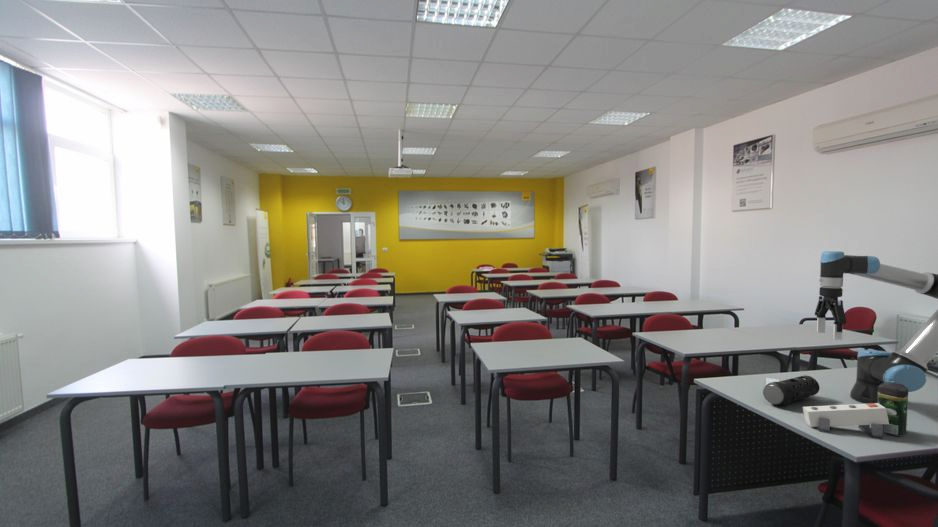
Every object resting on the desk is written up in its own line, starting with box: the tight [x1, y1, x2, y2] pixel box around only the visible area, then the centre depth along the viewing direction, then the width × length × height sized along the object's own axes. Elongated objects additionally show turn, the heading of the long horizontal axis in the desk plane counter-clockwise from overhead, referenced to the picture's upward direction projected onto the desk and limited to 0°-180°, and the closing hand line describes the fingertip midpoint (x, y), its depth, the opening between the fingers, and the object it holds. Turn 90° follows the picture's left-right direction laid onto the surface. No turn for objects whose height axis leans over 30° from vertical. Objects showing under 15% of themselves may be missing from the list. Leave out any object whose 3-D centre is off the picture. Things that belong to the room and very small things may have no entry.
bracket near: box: [857, 424, 884, 440], centre depth 159 cm, size 3×9×5 cm, turn 162°
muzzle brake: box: [762, 375, 820, 406], centre depth 189 cm, size 10×28×10 cm, turn 115°
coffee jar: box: [878, 382, 909, 437], centre depth 159 cm, size 10×8×19 cm
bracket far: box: [814, 418, 831, 434], centre depth 164 cm, size 3×9×5 cm, turn 162°
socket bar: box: [802, 403, 889, 428], centre depth 161 cm, size 24×5×7 cm, turn 71°
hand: (828, 335), depth 182 cm, fingers open, 13 cm apart
